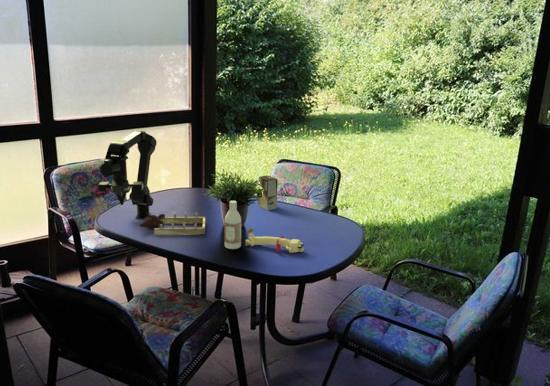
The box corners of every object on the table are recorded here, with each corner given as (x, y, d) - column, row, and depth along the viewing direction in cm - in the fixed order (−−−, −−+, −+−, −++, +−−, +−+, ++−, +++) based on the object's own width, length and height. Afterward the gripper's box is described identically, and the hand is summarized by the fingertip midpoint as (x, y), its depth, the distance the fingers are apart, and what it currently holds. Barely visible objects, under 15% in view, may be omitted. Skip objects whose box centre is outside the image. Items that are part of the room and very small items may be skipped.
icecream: (146, 222, 213) (170, 215, 226) (135, 215, 216) (159, 209, 229) (143, 236, 215) (167, 229, 228) (132, 228, 219) (156, 221, 231)
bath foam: (221, 248, 205) (221, 203, 199) (228, 242, 211) (228, 198, 205) (237, 250, 203) (237, 205, 197) (243, 244, 209) (243, 200, 204)
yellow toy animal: (243, 251, 206) (301, 256, 198) (242, 231, 204) (300, 236, 196) (252, 242, 215) (307, 246, 208) (250, 224, 213) (306, 227, 205)
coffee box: (277, 208, 255) (278, 179, 251) (267, 210, 252) (268, 180, 247) (267, 203, 262) (267, 175, 258) (257, 205, 259) (257, 176, 254)
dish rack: (158, 223, 230) (157, 213, 229) (205, 222, 233) (205, 212, 231) (154, 235, 216) (154, 224, 214) (204, 234, 219) (204, 224, 217)
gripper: (93, 175, 204) (96, 211, 209) (139, 175, 206) (141, 210, 211) (99, 169, 215) (101, 202, 219) (142, 169, 217) (144, 202, 222)
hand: (122, 204), depth 218 cm, fingers closed
